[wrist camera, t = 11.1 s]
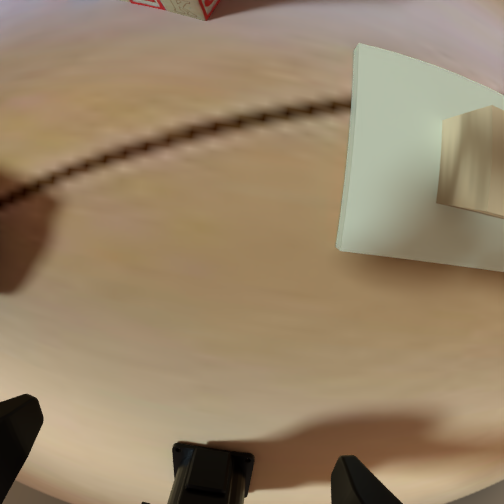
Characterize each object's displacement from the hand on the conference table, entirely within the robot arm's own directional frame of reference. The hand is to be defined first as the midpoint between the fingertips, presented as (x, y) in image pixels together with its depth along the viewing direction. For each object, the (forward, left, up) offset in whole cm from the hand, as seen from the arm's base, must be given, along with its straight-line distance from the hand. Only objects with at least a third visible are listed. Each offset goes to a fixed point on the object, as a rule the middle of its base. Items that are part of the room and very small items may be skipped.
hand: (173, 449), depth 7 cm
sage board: (+10, -14, -12) cm, 21 cm away
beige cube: (+10, -14, -11) cm, 20 cm away
